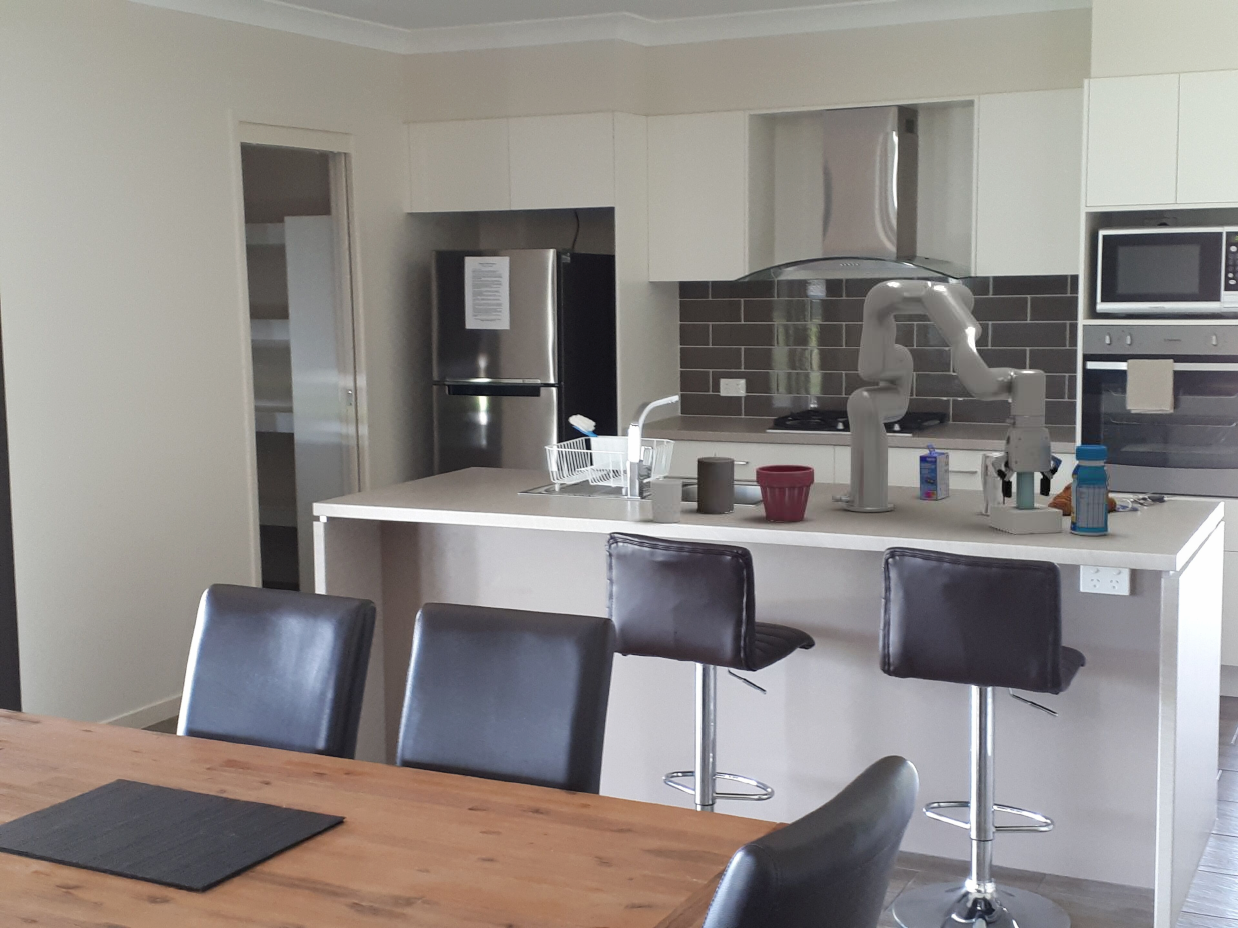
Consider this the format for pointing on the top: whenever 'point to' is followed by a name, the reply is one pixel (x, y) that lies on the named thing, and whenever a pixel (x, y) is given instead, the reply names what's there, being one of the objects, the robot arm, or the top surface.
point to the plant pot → (785, 490)
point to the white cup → (666, 500)
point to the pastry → (1064, 501)
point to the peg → (1025, 491)
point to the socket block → (1026, 519)
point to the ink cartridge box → (934, 475)
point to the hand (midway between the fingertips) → (1025, 496)
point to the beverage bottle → (1090, 492)
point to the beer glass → (991, 483)
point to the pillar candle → (715, 485)
